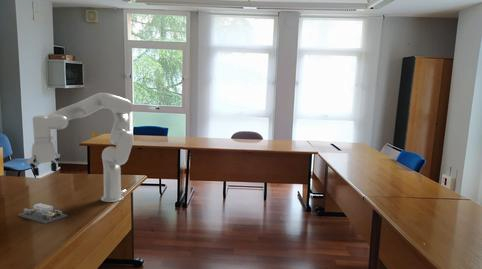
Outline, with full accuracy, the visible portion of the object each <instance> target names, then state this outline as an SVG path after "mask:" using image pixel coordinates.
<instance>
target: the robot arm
mask: <svg viewBox="0 0 482 269" xmlns="http://www.w3.org/2000/svg"><path fill="white" fill-rule="evenodd" d="M133 107H134V106H133V103H132V101H131V100H129V99H127V98H124V97H121V96H118V95H116V94H112V93H110V92H97V93H95V94H93V95H91V96H89V97H87V98H85V99H83V100H80V101H78V102H75V103H72V104H70V105H67V106H65V107H61V108H60V109H58V110H55V111H53V112H51V113H49V114H48V115H35V116H33V117H32V130H33V132H32V133H33V140H34V143H32V147H31V157H30V158H28V159H27V160H26V162H27V165H28V166H29V167H31V168H32V173H33V176H35V177H39V175H40V170H39V168H38V167H39V165H40V164H44V163H45V164H46V163H50V162H51V163H50V168H51V169H50V170H51V172H57V168H58V167H57V164H58V162H59V161H60V157H61V154H60V153H58V152H56V151H55V145H54V142H53V141H52V140H53V139H54V137H53V136H52V131H51V130H64V129H66V128H67V127H68V125H69V121H71V120H74V119H82V118H85V117H88V116H90V115H92V114H94V113H95V112H97V111H100V110H101V109H109V110H110V111H111V112H112V114H113V117H114V120H113V124H112V129H111V131H110V135H109V142H110V143H111V144H113V145H115V146H107V147H105V148H104V149H103V150H102V153H101V159H102V165H103V166H102V167H103V196H101V198H100V200H101V201H102V202H105V203H116V202H120V201H123V200H124V195H123V194H125V193H127V189H122V181H121V180H122V175H121V174H122V171H121V170H122V169H121V166H122V165H125V164H126V163H127V162H128V160H129V158H130V157H129V156H130V154H131V150H132V148H133V144H134V136H133V134H132V133H131V131H129V125H130V116H129V114H131V112H133V109H134V108H133Z"/></svg>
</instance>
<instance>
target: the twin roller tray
mask: <svg viewBox="0 0 482 269" xmlns="http://www.w3.org/2000/svg"><path fill="white" fill-rule="evenodd" d="M23 213H24V214H28V215H32V213H34V208H31V209H29V208H26V207H25V208H23ZM62 214H63V211H62V210H60V209H59V210H58V209H53V213H51V214H44V213H42V219H45V220H51V219H50V218H52V217H55V216H60V217H61V216H62Z"/></svg>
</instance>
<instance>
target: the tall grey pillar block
mask: <svg viewBox="0 0 482 269" xmlns="http://www.w3.org/2000/svg"><path fill="white" fill-rule="evenodd" d="M33 209H34V215H37V216H41V217H42V213H44V214H51V213H53V210H54V206H53V205H50V204H44V203H41V202H39V203H35V204H33Z"/></svg>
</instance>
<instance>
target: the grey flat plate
mask: <svg viewBox="0 0 482 269" xmlns="http://www.w3.org/2000/svg"><path fill="white" fill-rule="evenodd" d="M17 216H18V217H20V218H25V219H28V220H31V221H35V222H38V223H42V224H49V223H52V222H55V221H58V220H61V219H63V218H66V217H68V214H64V213H62V216H61V217H60V216H55V217H52V218H50V219H51V220H45V219H42V217H41V216H37V215H34V213H32V215H28V214H24V212H23V213H22V212H21V213H19V214H17Z"/></svg>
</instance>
